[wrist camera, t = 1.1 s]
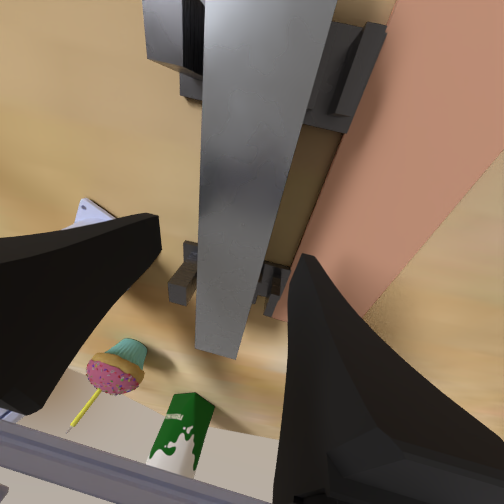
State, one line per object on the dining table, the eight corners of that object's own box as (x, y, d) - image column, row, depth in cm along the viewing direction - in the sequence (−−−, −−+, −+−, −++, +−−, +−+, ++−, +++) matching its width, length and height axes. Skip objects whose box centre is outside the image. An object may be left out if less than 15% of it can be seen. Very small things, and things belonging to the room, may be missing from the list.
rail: (244, 323, 21) (235, 359, 18) (209, 314, 22) (194, 348, 18) (368, -128, 7) (443, -376, 3) (254, -149, 7) (217, -402, 3)
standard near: (345, 133, 13) (369, 139, 9) (183, 96, 13) (133, 84, 9) (383, 36, 10) (445, -22, 6) (182, -7, 11) (111, -88, 6)
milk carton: (193, 409, 48) (143, 556, 32) (168, 392, 45) (96, 548, 28) (220, 408, 45) (178, 574, 28) (195, 389, 41) (130, 566, 25)
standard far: (279, 297, 22) (276, 337, 18) (185, 272, 22) (162, 306, 18) (291, 267, 19) (291, 307, 15) (185, 240, 20) (157, 271, 16)
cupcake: (140, 361, 38) (87, 445, 28) (103, 337, 35) (29, 421, 25) (166, 354, 34) (116, 446, 25) (127, 325, 31) (51, 419, 21)
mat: (344, 334, 23) (345, 337, 23) (271, 314, 24) (271, 317, 23) (648, -35, 8) (663, -42, 8) (425, -76, 8) (431, -84, 8)
